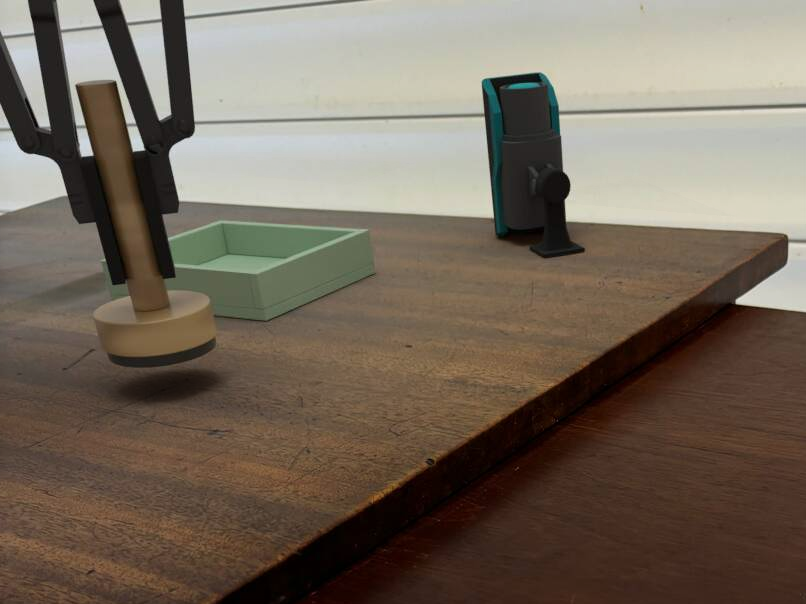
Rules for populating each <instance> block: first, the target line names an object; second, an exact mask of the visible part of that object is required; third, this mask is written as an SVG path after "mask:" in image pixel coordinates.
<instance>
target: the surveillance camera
mask: <svg viewBox="0 0 806 604" xmlns="http://www.w3.org/2000/svg"><path fill="white" fill-rule="evenodd" d="M481 92H482V103H483V104H482V105H483V114H484V124H485V134H486V135H485V136H486V146H487V158H488V169H489V179H490V189H491V190H490V191H491V203H492V212H493V222H494V232H495V233H494V235H495V236H497V237H508V236H509V235H510V236H514V235H515V234H516V235H521V234H520V233H523V234H528V233H536V232H542V231H543V235H542V241H541V243H539V244H534V245H529V246H528V249H529V250H530V251H531V252H533V253H535V254H537V255H539V256H540V257H541V258H544V259H547V258H551V257H558V256H565V255H571V254H577V253H584V252H586V251H585V250H586V249H585V247H583V246H581V245H579V244H578V243H576V242H574V241H572V240H571V237H570V234H569V231H568V227H567V213H566V212H567V211H566V200H567V198H568V196H570V192H571V188H572V187H571V186H572V185H571V180H570V178H569V175H568V174H567V173H565V172H564V162H563V161H564V160H563V143H562V142H563V141H562V135H561V123H560V121H561V120H560V105H559V102H558V98H557V95H556V92H555V89H554V86H553V84H552V83H551V81H550V79H549V78H548V77H547V76H546V75H545V74H544V73H543V72H539V71H537V72H528V73H520V74H511V75H502V76H494V77H493V76H492V77H487V78H483V79H482V80H481ZM510 236H509V237H510Z"/></svg>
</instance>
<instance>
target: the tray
mask: <svg viewBox="0 0 806 604" xmlns="http://www.w3.org/2000/svg"><path fill="white" fill-rule="evenodd" d="M168 241H169V245H170V250H171V254H172V258H173V262H174V266H175V275H176V278H169V279H164V280H165V284H166V288H167V291H172V290H180V291H193V292H198V293H202V294H205V295H206V296H208V297H209V299H210V301H211V306H212V310H213V315H214V316H217V317H226V318H235V319H245V320H252V321H253V320H254V321H263V322H268V321H269V320H272V319H274V318H276V317H279V316H281V315H283V314H285V313H288V312H290V311H292V310H294V309H296V308H299V307H301V306H303V305H305V304H308V303H311V302H312V301H315V300H317V299H320V298H322V297H324V296H327V295H329V294H331V293H334V292H335V291H338V290H341V289H342V288H345V287H347V286H350V285H351V284H354V283H356V282H359V281H360V280H362V279H365V278H367V277H370V276H372V275H374V274H376V266H375V260H374V252H373V247H372V239H371V232H370V229H365V228H361V229H360V228H349V227H348V228H347V227H331V226H316V225H301V224H287V223H285V224H283V223H269V222H268V223H267V222H255V221H254V222H252V221H239V220H237V221H235V220H234V221H233V220H223V219H221V220H217V221H215V222H211V223H208V224H205V225H203V226H200V227H197V228H193V229H191V230H187V231H185V232H181V233H179V234H176V235H173V236H170V237H168ZM100 263H101V266H102V269H103V274H104V277H105V281H106V285H107V288H108V292H109V294H110V299H111V301H114V300H117V299H120V298H123V297H127V296H130V294H129V290H128V286H127V282H126V284H121V285H112V282H111V278H110V274H109V270H108V267H107V263H106V259H105V258H104V259H101V260H100Z"/></svg>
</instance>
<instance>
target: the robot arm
mask: <svg viewBox="0 0 806 604" xmlns="http://www.w3.org/2000/svg"><path fill="white" fill-rule="evenodd" d="M92 1H93V4H94V6H95V10H96V13H97V15H98V17H99V21H100V23H101V26H102V29H103V31H104V34H105V38H106V41H107V43H108V46H109V49H110V51H111V55H112V58H113V61H114V64H115V67H116V69H117V72H118V75H119V78H120V81H121V84H122V87H123V90H124V93H125V96H126V98H127V101H128V105H129V107H130V110H131V113H132V115H133V118H134V121H135V124H136V128H137V130H138V134H139V136H140V139H141V142H142V145H143V149H144V150H143V149H142V150H135V151H134V150H133V152H134V163H135V167H136V171H137V175H138V179H139V183H140V187H141V191H142V195H143V200H144V204H145V208H146V212H147V216H148V220H149V224H150V228H151V232H152V236H153V241H154V245H155V249H156V253H157V257H158V261H159V265H160V269H161V273H162V277H163V279H169V278H176V275H175V266H174V262H173V258H172V254H171V250H170V245H169V241H168V238H169V237H168V233H167V228H166V225H165V220H164V217H163V216H165V215H171V214H178V213H179V209H180V199H179V194H178V190H177V185H176V180H175V176H174V172H173V167H172V163H171V158H170V152H171V150H172V148H173V147H174V146H175V145H177V144H178V143H180V142H182V141H184V140H186V139H190V138H191V137H193V136H194V134H195V131H196V123H195V111H194V101H193V91H192V90H193V89H192V80H191V69H190V59H189V48H188V38H187V37H188V35H187V27H186V25H187V24H186V15H185V14H186V13H185V6H184V5H185V4H184V0H159V9H160V19H161V31H162V39H163V48H164V57H165V58H164V59H165V68H166V79H167V88H168V98H169V107H170V114H168V115H167V116H166V117H163V118H162V119H160V118H159V116H158V115H159V114H158V112H157V109H156V106H155V103H154V100H153V96H152V94H151V91H150V87H149V85H148V82H147V79H146V76H145V72H144V70H143V67H142V64H141V61H140V58H139V55H138V52H137V49H136V46H135V43H134V39H133V37H132V34H131V31H130V28H129V25H128V22H127V19H126V15H125V13H124V10H123V6H122V4H121V0H92ZM27 4H28V10H29V14H30V19H31V22H32V23H31V24H32V29H33V34H34V40H35V46H36V52H37V58H38V64H39V70H40V74H41V75H40V76H41V80H42V81H41V82H42V86H43V92H44V99H45V105H46V110H47V115H48V122H49V128H50V129H47V128H43V127H41V126H40V124H39V122H38V120H37V117H36V114H35V112H34V109H33V107H32V105H31V102H30V100H29V97H28V95H27V93H26V90H25V88H24V85H23V83H22V80H21V78H20V75H19V72H18V71H17V68H16V66H15V63H14V61H13V58H12V55H11V53H10V51H9V49H8V46H7V44H6V42H5V39H4V37H3V34H2V31H1V30H0V107H1V109H2V111H3V113H4V117H5V118H6V121H7V123H8V125H9V128H10V131H11V132H12V135H13V138H14V140H15V142H16V144H17V147H18V148H19V149H20V151H22V152H23V153H24V154H27V155H37V156H41V157H44V158H48V159H50V160H52V161H53V162H54V163H55V164H56V165H57V166H58V168H59V170H60V174H61V178H62V181H63V184H64V188H65V191H66V195H67V198H68V199H67V200H68V202H69V206H70V209H71V210H70V211H71V213H72V217H74V219H75V220H76V222H77V223H78V225H84V224H93V223H95V226H96V229H97V233H98V237H99V240H100V245H101V246H102V251H103V255H104V259H106V263H107V267H108V270H109V274H110V278H111V282H112V285H121V284H126V278H125V274H124V270H123V267H122V263H121V259H120V255H119V251H118V248H117V244H116V240H115V236H114V232H113V228H112V225H111V221H110V217H109V213H108V209H107V205H106V202H105V198H104V194H103V190H102V186H101V182H100V179H99V175H98V171H97V167H96V163H95V160H94V156H93V155H86V156H85V155H82V153H81V148H80V146H81V142H79V135H78V130H77V129H78V128H77V123H76V116H75V110H74V109H75V108H74V103H73V98H72V97H73V96H72V91H71V85H70V79H69V73H68V67H67V61H66V54H65V48H64V41H63V35H62V28H61V22H60V14H59V8H58V1H57V0H27Z"/></svg>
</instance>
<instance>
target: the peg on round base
mask: <svg viewBox="0 0 806 604" xmlns="http://www.w3.org/2000/svg"><path fill="white" fill-rule="evenodd" d="M74 86H75V90H76V95H77V98H78V103H79V106H80V110H81V114H82V117H83V121H84V125H85V129H86V132H87V136H88V140H89V144H90V148H91V152H92V156H94V160H95V163H96V167H97V171H98V175H99V179H100V182H101V186H102V190H103V194H104V198H105V202H106V205H107V209H108V213H109V217H110V221H111V225H112V228H113V232H114V236H115V240H116V244H117V248H118V251H119V255H120V259H121V263H122V267H123V270H124V274H125V278H126V282H127V286H128V290H129V294H130V296H127V297H123V298H120V299H117V300H114V301H112V300H111V301H108V302H106V303H104V304H102V305H101V306H98V307H96V309H95V310H94V311H93V314H92V318H93V321H94V325H95V328H96V332H97V335H98V339H99V342H100V346H101V349H102V350H103V351H104V352H105V353H106V355H107V358H108V360H109V362H111V363H112V364H114V365H116V366H119V367H126V368H135V369H137V368H138V369H140V368H141V369H144V368H145V369H146V368H147V369H148V368H158V367H167V366H172V365H178V364H182V363H185V362H189V361H192V360H195V359H198V358H200V357H203V356H205V355H207V354H208V353H210V352H212V351H213V350H214V349H215V347H216V346H217V339H216V335H217V333H218V329H217V324H216V319H215V315H213V310H212V306H211V301H210V299H209V297H208V296H206V295H205V294H202V293H198V292H193V291H180V290H172V291H167V288H166V284H165V280H164V279H163V277H162V273H161V269H160V265H159V261H158V257H157V253H156V249H155V245H154V241H153V236H152V232H151V228H150V224H149V220H148V216H147V212H146V208H145V204H144V200H143V195H142V191H141V187H140V183H139V179H138V175H137V171H136V167H135V163H134V148H133V144H132V140H131V136H130V132H129V128H128V124H127V120H126V115H125V111H124V107H123V104H122V99H121V95H120V91H119V87H118V82H117V80H116V79H97V80H96V79H95V80H86V81H82V82H77V83H75V84H74Z"/></svg>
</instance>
